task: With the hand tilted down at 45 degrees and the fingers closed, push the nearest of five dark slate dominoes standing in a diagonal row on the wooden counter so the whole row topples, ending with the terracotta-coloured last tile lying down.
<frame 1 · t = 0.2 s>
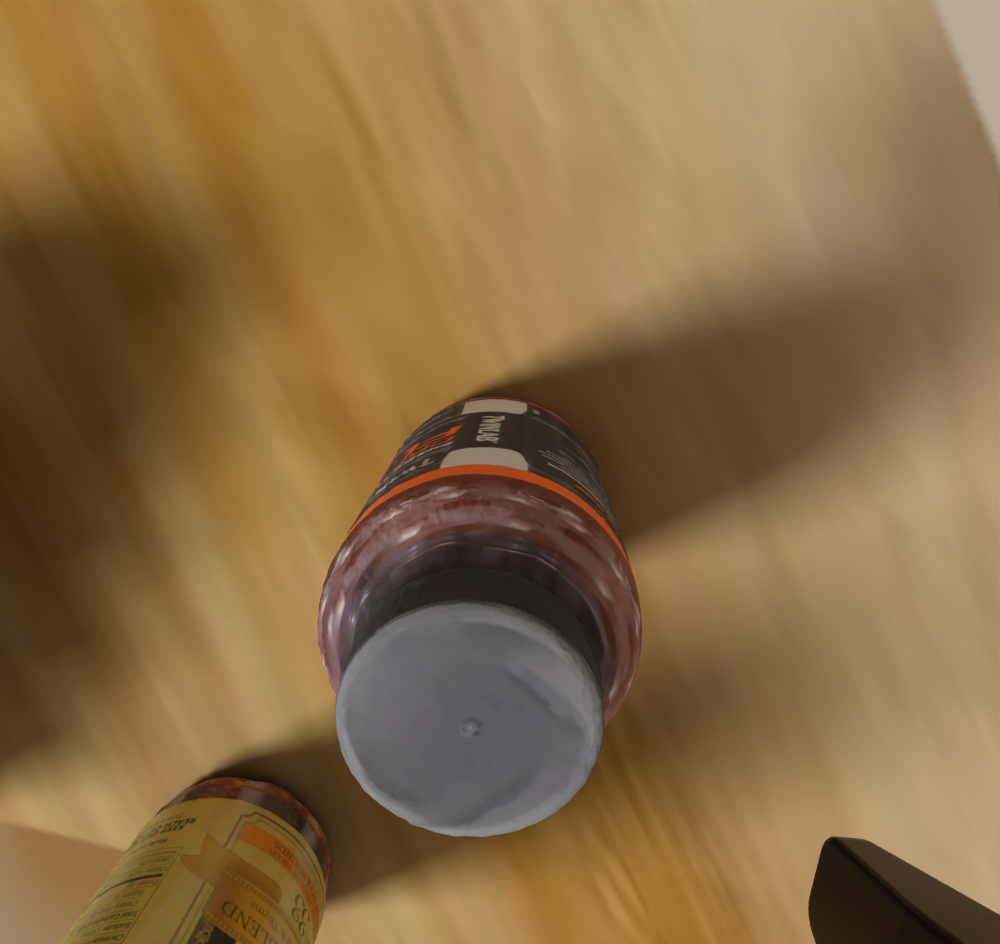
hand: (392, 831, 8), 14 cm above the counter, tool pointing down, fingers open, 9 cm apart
sauce bottle: (245, 835, 26), on the counter
supplement bottle: (495, 492, 22), on the counter
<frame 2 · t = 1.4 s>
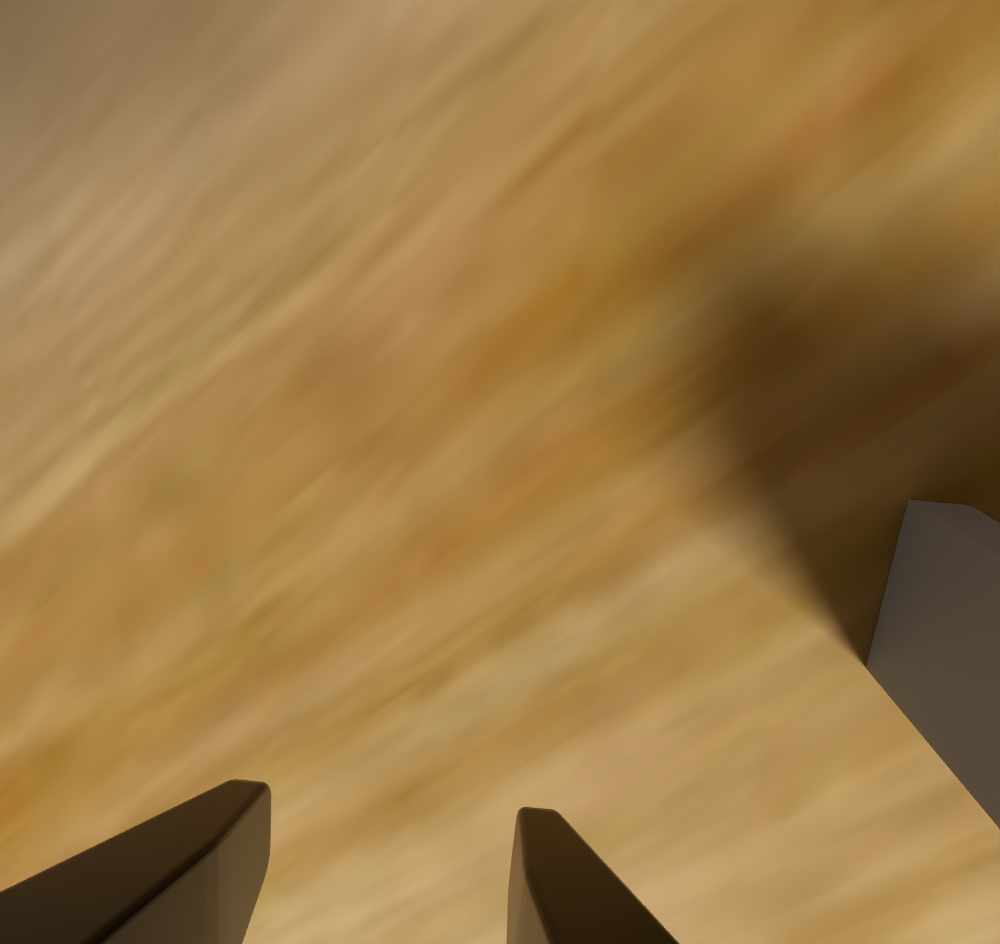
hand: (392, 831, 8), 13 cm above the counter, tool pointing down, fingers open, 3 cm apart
domino 1: (915, 588, 21), on the counter
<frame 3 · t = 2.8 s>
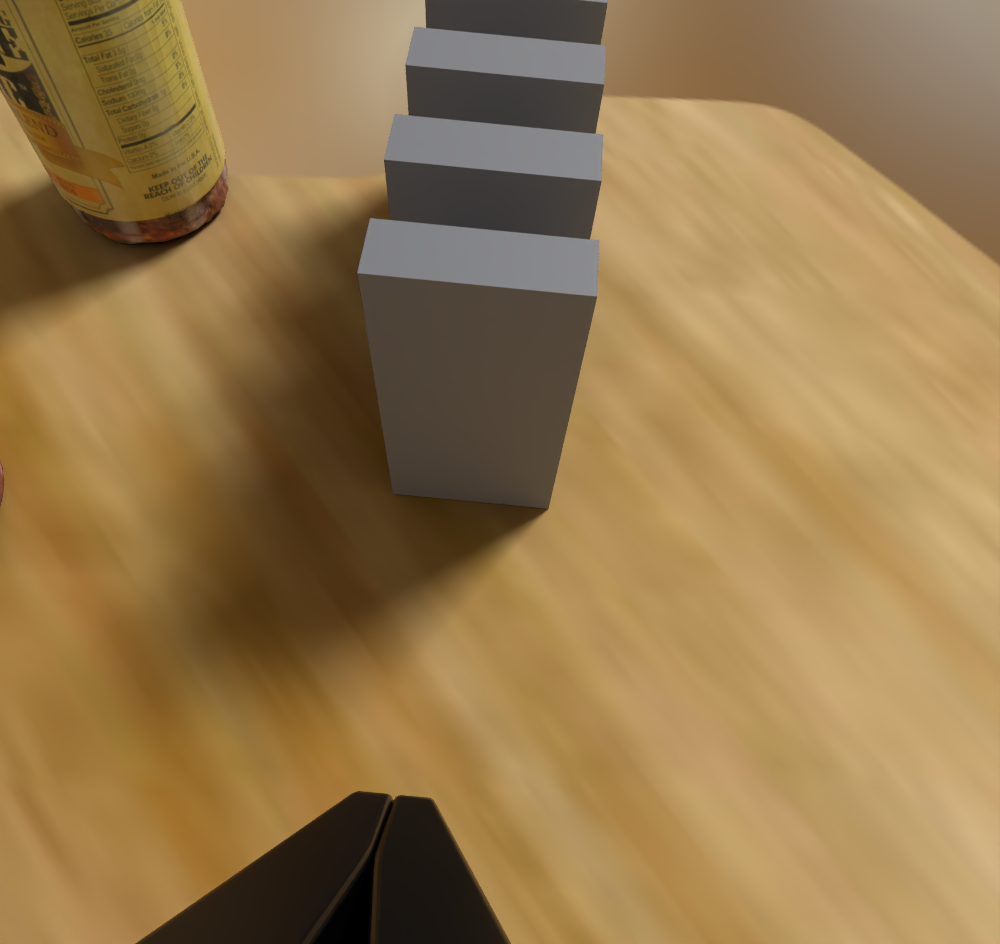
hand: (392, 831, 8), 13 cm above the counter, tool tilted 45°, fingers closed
domino 4: (500, 243, 30), on the counter
domino 1: (473, 479, 25), on the counter
domino 3: (492, 312, 29), on the counter
sauce bottle: (159, 203, 31), on the counter
domino 2: (483, 390, 27), on the counter
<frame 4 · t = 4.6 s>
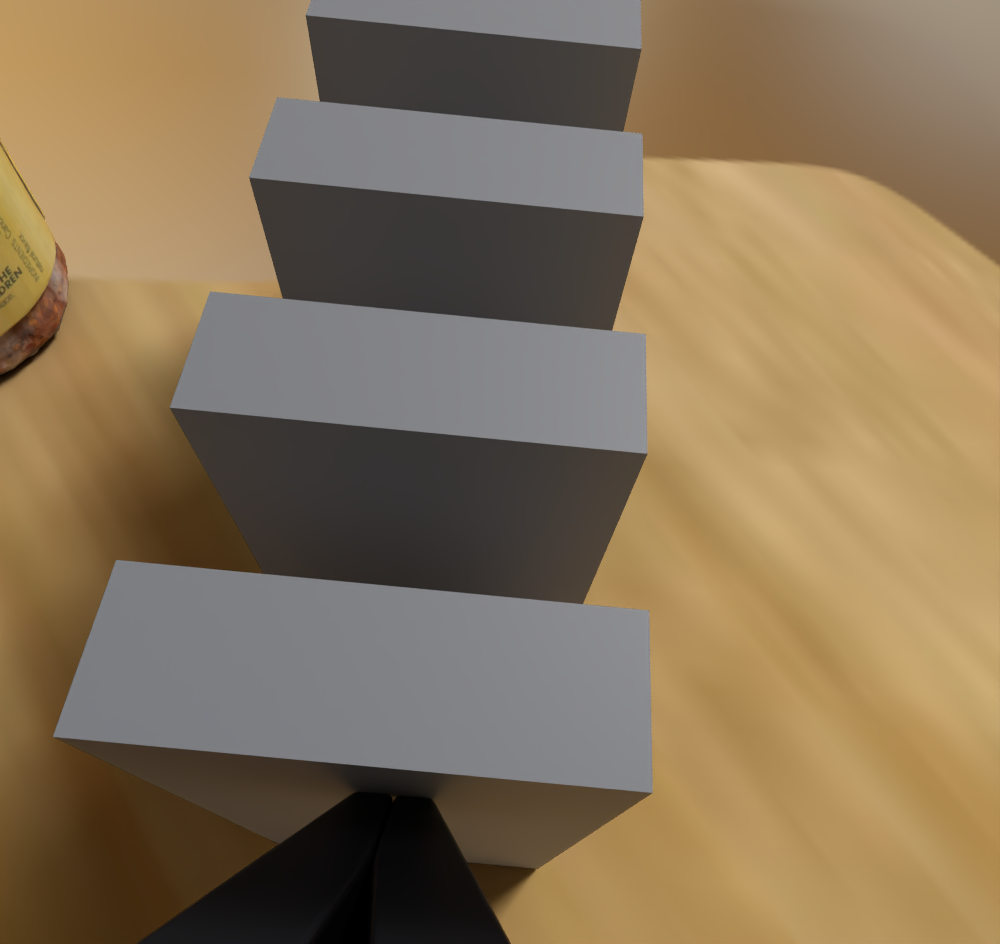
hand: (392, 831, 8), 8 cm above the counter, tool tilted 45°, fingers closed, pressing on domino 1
domino 4: (467, 383, 21), on the counter
domino 1: (414, 812, 15), on the counter, touching gripper
domino 3: (453, 501, 19), on the counter
domino 2: (436, 641, 17), on the counter
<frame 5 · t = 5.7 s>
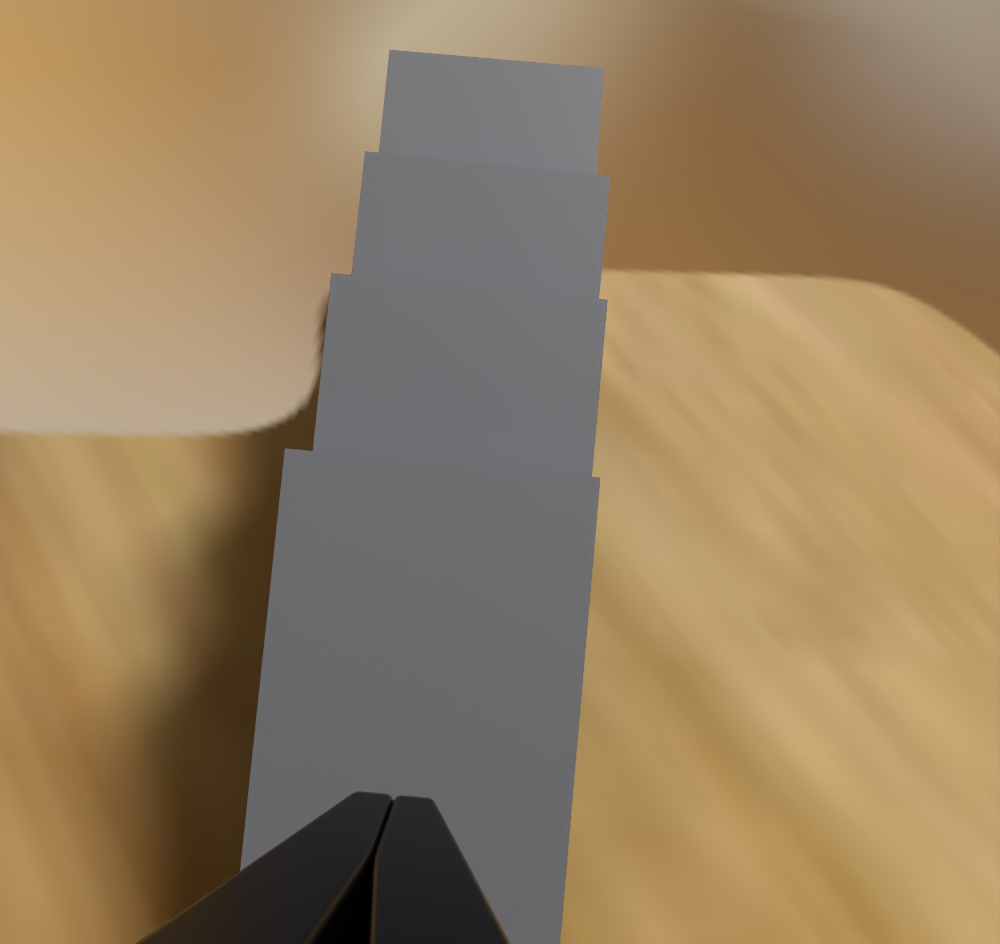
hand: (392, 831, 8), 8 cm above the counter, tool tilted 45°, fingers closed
domino 4: (459, 489, 18), point 1 cm above the counter, tilted 67°
domino 3: (440, 651, 16), point 1 cm above the counter, tilted 64°, touching domino 2
domino 2: (418, 831, 14), point 1 cm above the counter, tilted 64°, touching domino 1, domino 3
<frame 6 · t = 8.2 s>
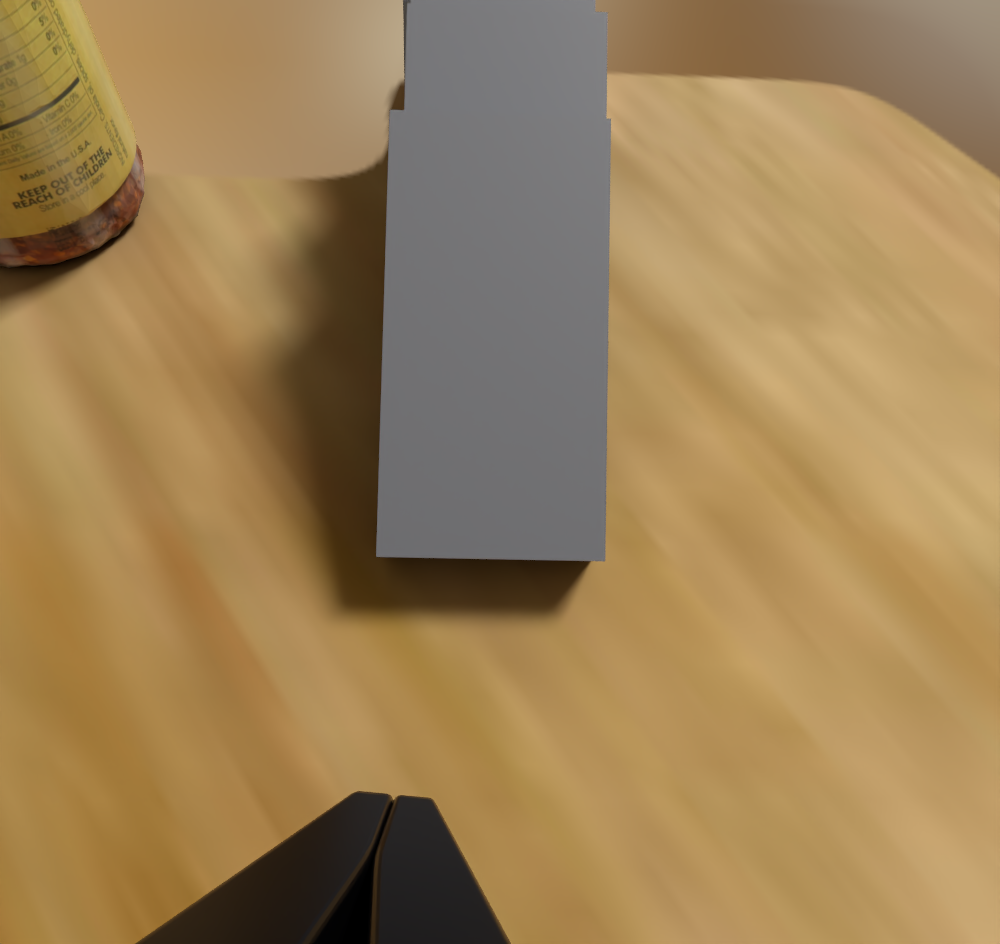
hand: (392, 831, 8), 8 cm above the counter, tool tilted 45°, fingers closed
domino 1: (490, 557, 18), point 1 cm above the counter, tilted 65°, touching domino 2
domino 3: (498, 302, 21), point 1 cm above the counter, tilted 65°, touching domino 2, domino 4
sauce bottle: (55, 212, 23), on the counter
domino 2: (499, 410, 20), point 1 cm above the counter, tilted 65°, touching domino 1, domino 3
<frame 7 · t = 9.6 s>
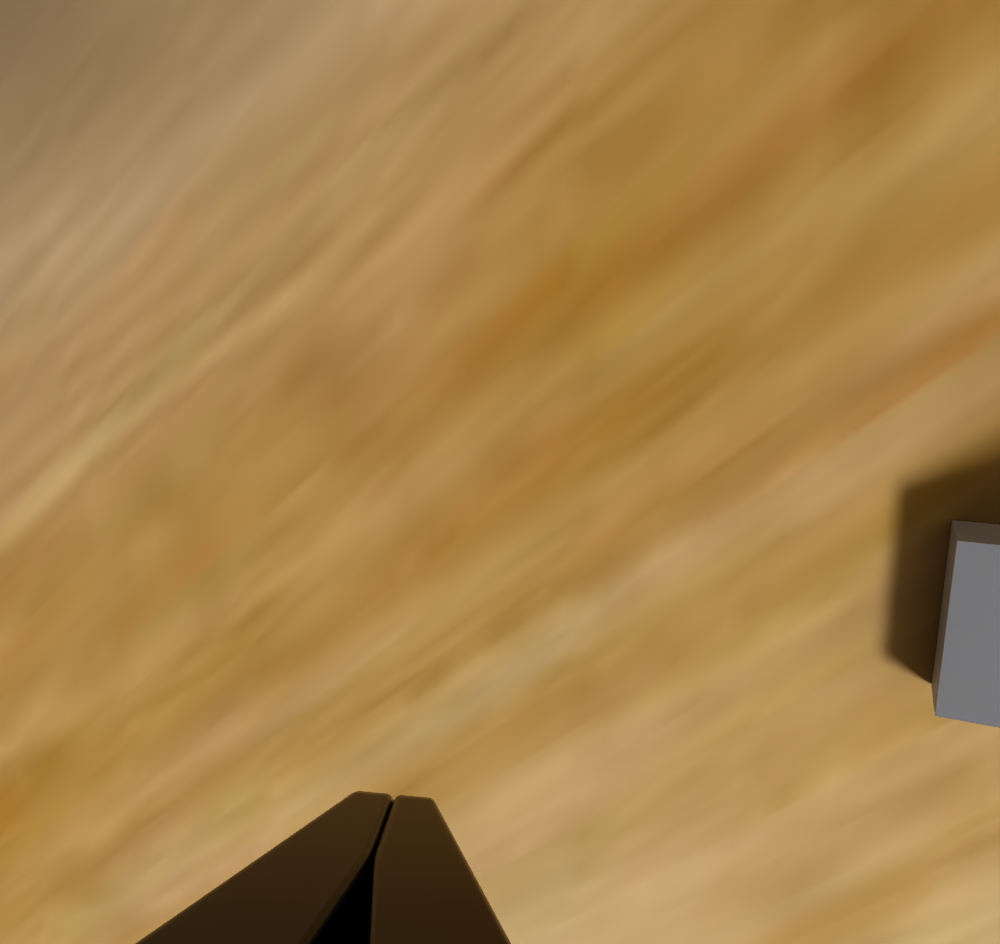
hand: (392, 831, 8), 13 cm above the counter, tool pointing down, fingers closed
domino 1: (943, 617, 21), point 1 cm above the counter, tilted 66°, touching domino 2
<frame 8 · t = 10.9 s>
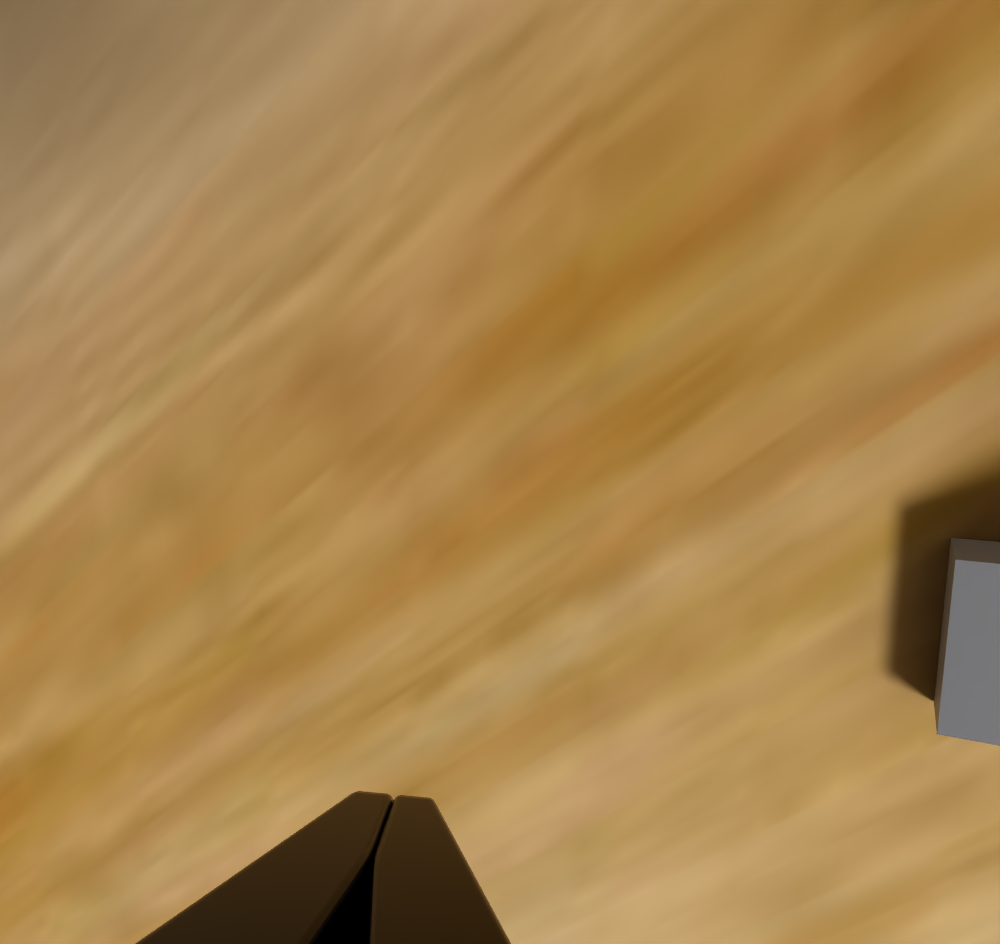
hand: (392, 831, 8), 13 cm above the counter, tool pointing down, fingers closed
domino 1: (944, 635, 21), point 1 cm above the counter, tilted 66°, touching domino 2
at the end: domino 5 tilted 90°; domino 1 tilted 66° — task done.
